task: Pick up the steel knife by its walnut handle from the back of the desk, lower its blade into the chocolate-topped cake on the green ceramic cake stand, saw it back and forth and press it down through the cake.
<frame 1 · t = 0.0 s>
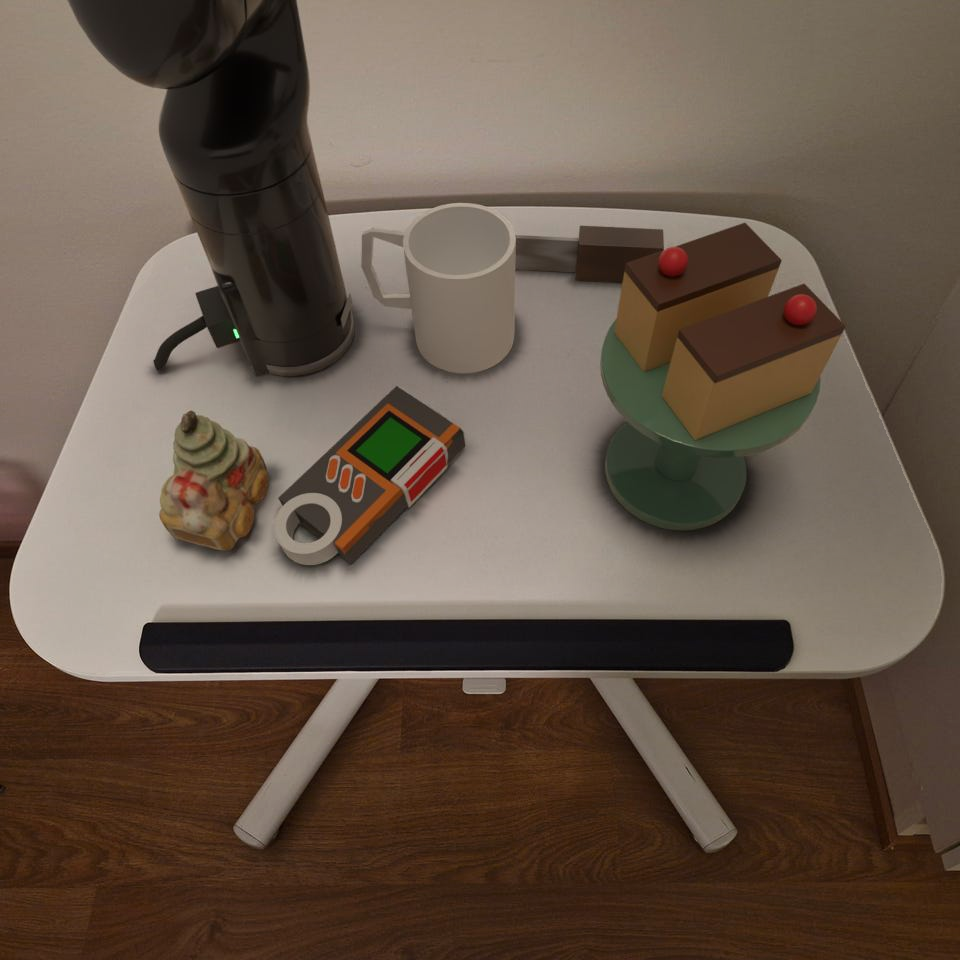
electronic device: (367, 491, 57), on the table
knife: (569, 270, 69), on the table
cup: (443, 334, 66), on the table
ornament: (224, 509, 57), on the table
cake: (709, 362, 47), resting on cake stand
cake stand: (673, 471, 57), on the table
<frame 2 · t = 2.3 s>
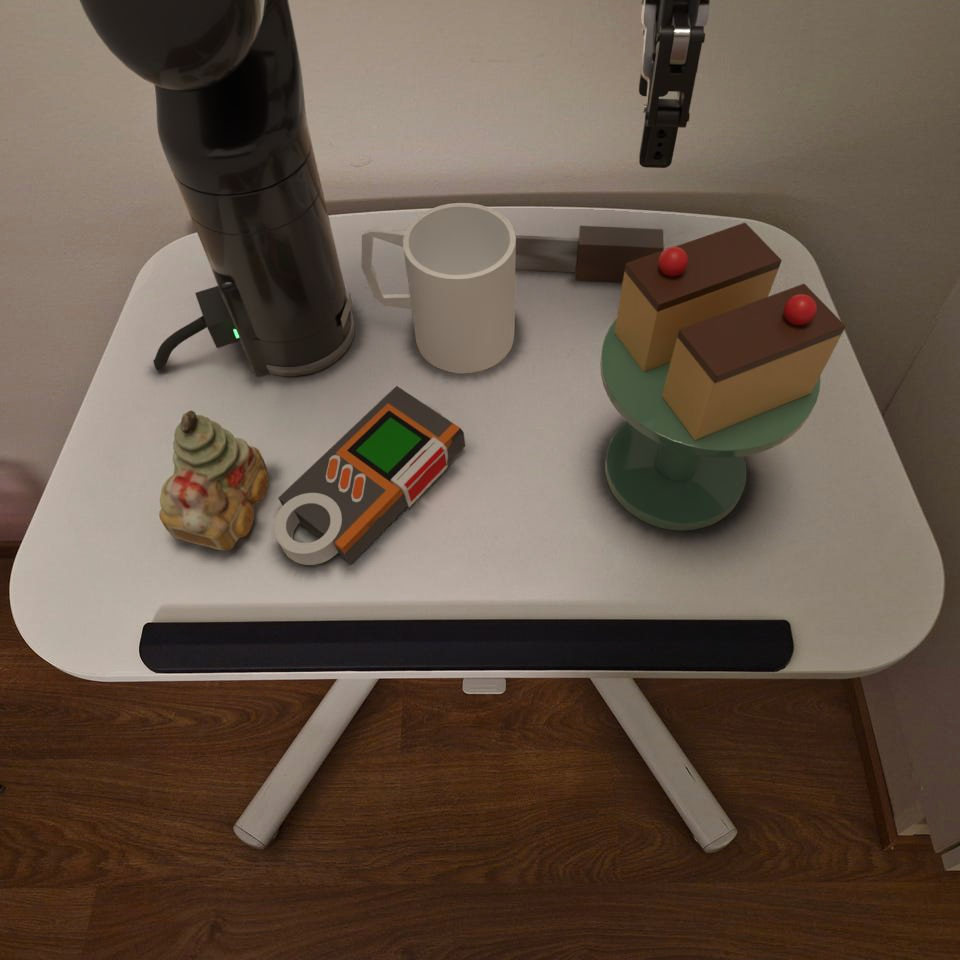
hand: (653, 128, 57), 14 cm above the table, tool pointing down, fingers open, 8 cm apart
nothing on the table moved.
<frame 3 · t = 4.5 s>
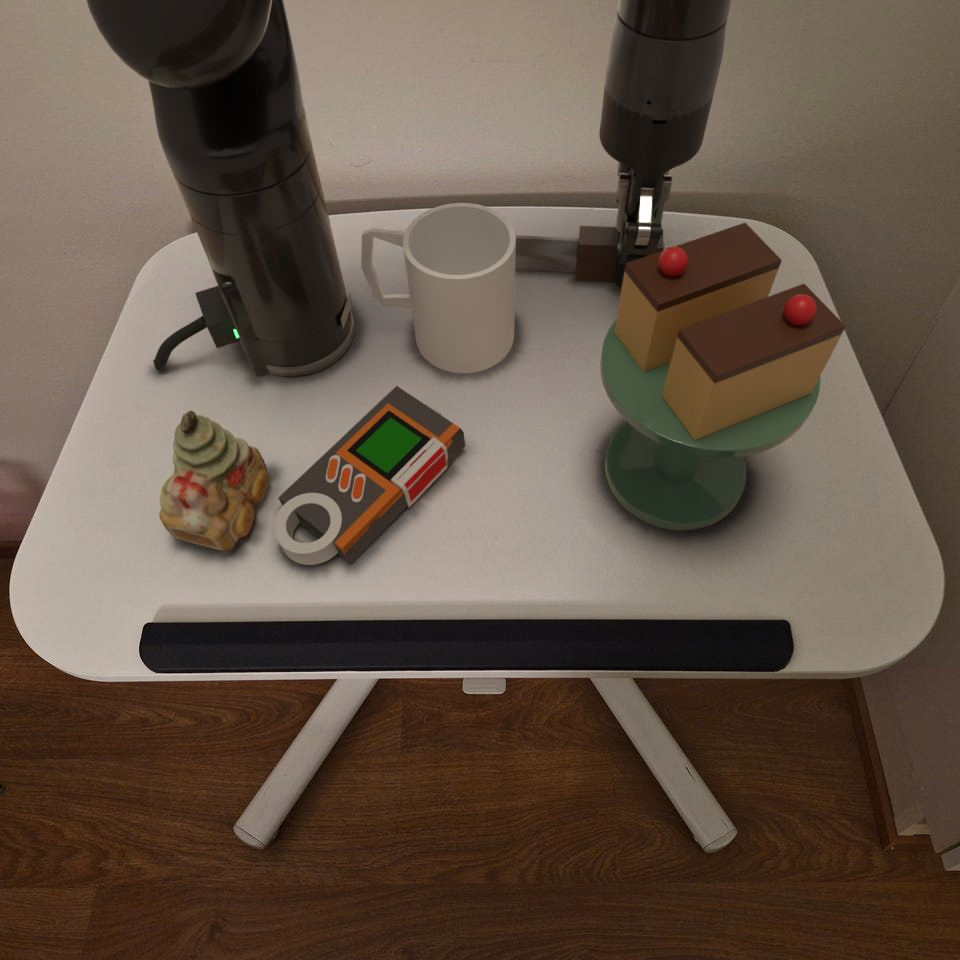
hand: (627, 271, 68), 0 cm above the table, tool pointing down, fingers closed on knife, 2 cm apart
knife: (569, 270, 69), on the table, touching gripper
everything else where it was.
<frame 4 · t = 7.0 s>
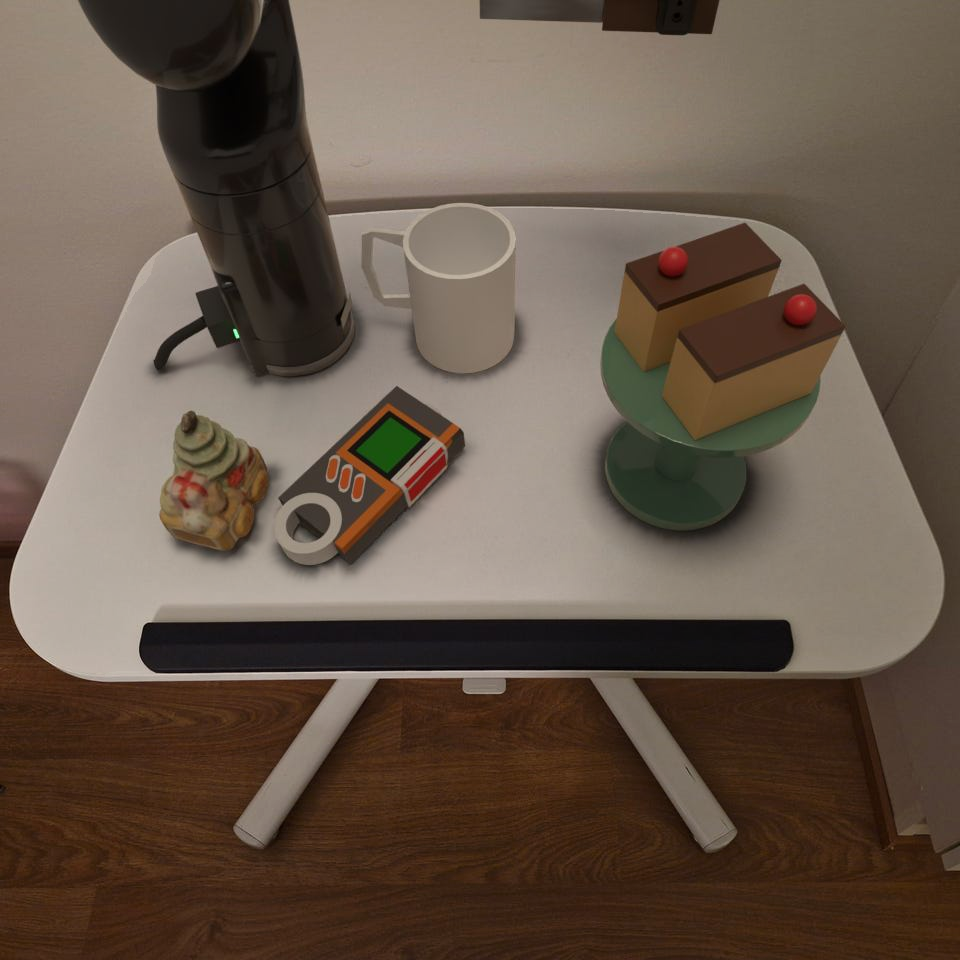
hand: (671, 18, 50), 22 cm above the table, tool pointing down, fingers closed on knife, 2 cm apart
knife: (594, 21, 51), point 21 cm above the table, touching gripper
everything else where it was.
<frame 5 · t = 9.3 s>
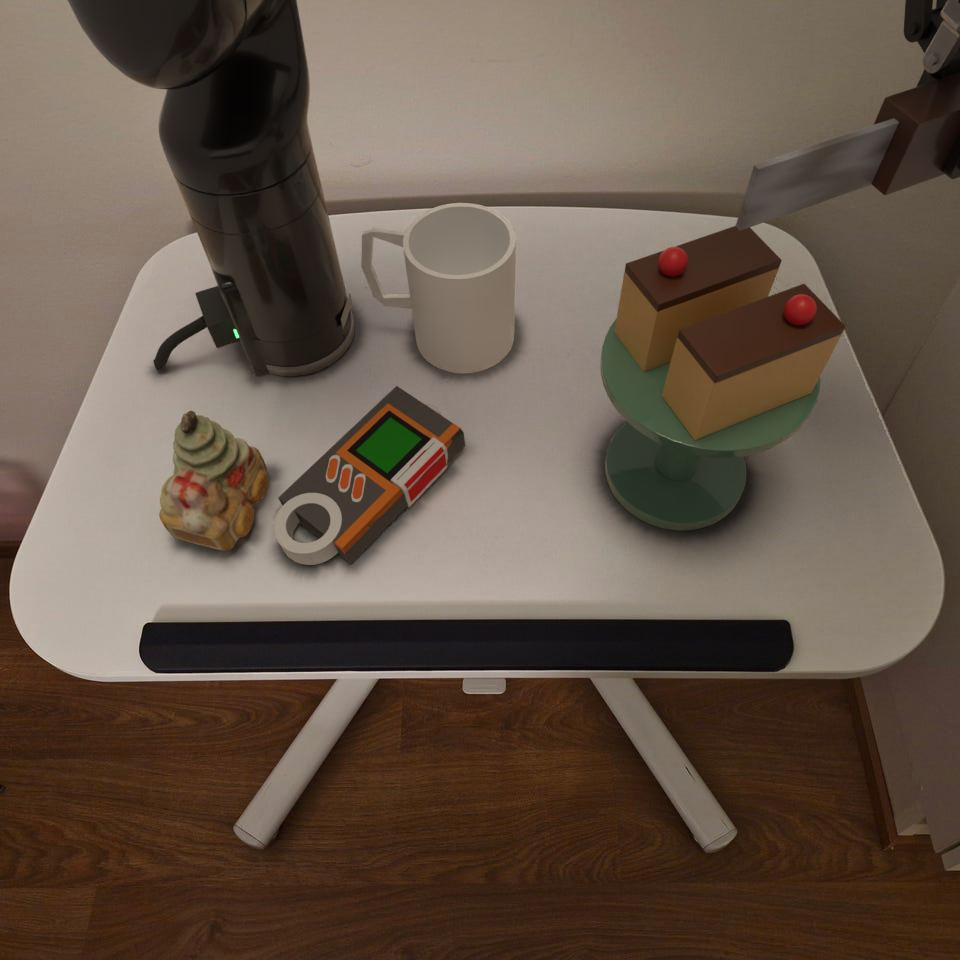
hand: (939, 154, 41), 22 cm above the table, tool pointing down, fingers closed on knife, 2 cm apart
knife: (860, 185, 40), point 22 cm above the table, touching gripper
everything else where it was.
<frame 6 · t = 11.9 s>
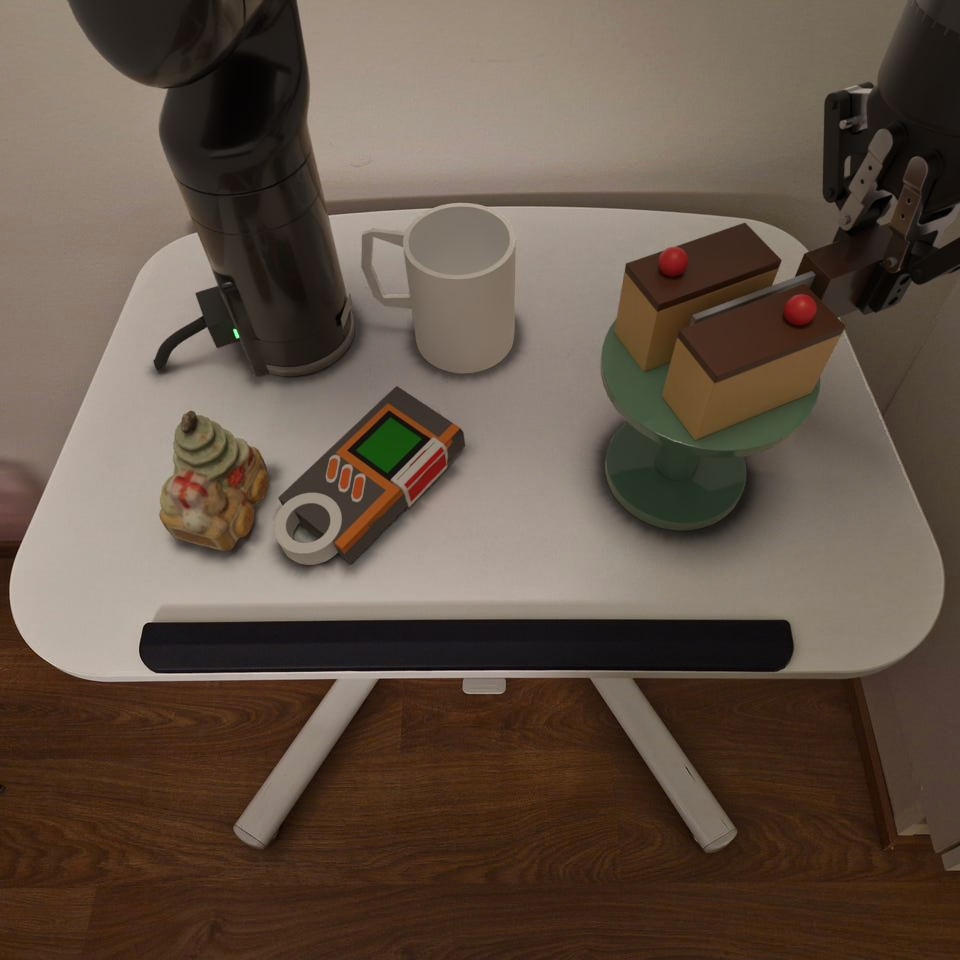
hand: (856, 290, 48), 14 cm above the table, tool pointing down, fingers closed on knife, 2 cm apart
knife: (788, 319, 47), point 13 cm above the table, touching gripper
everything else where it was.
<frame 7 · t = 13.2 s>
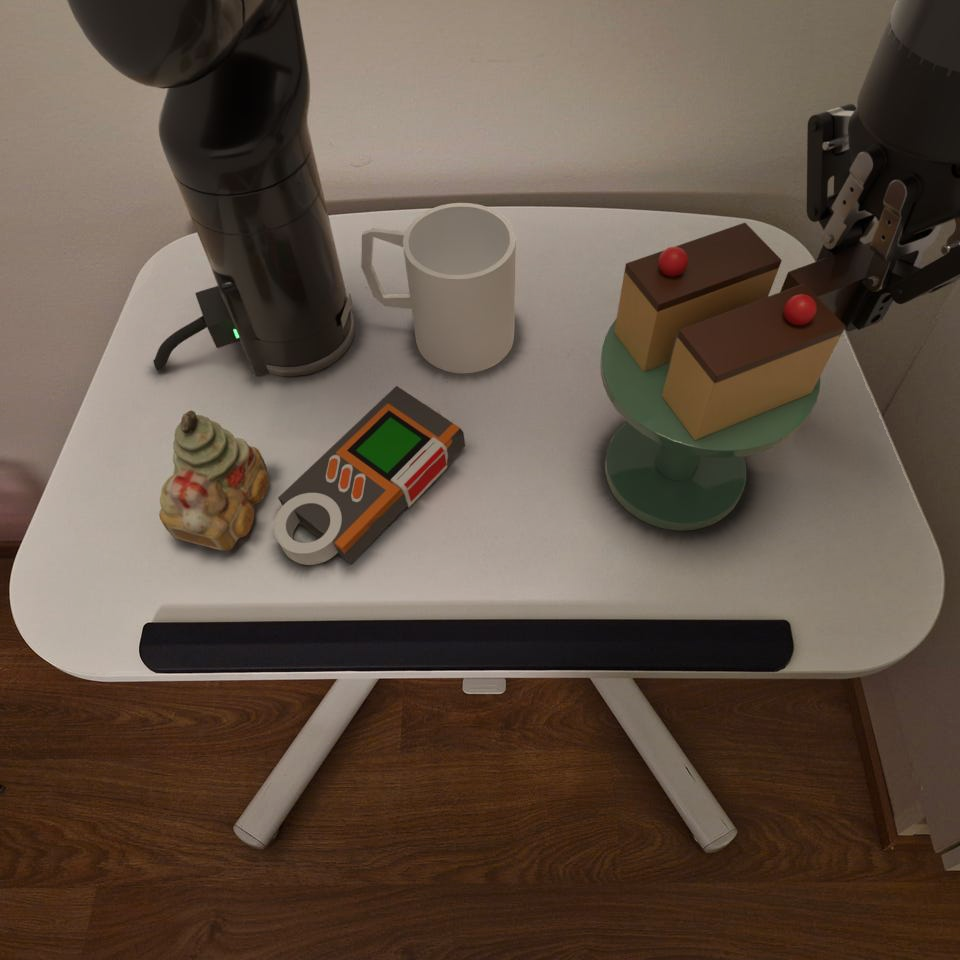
hand: (840, 307, 49), 12 cm above the table, tool pointing down, fingers closed on knife, 2 cm apart
knife: (772, 335, 48), point 12 cm above the table, touching gripper
everything else where it was.
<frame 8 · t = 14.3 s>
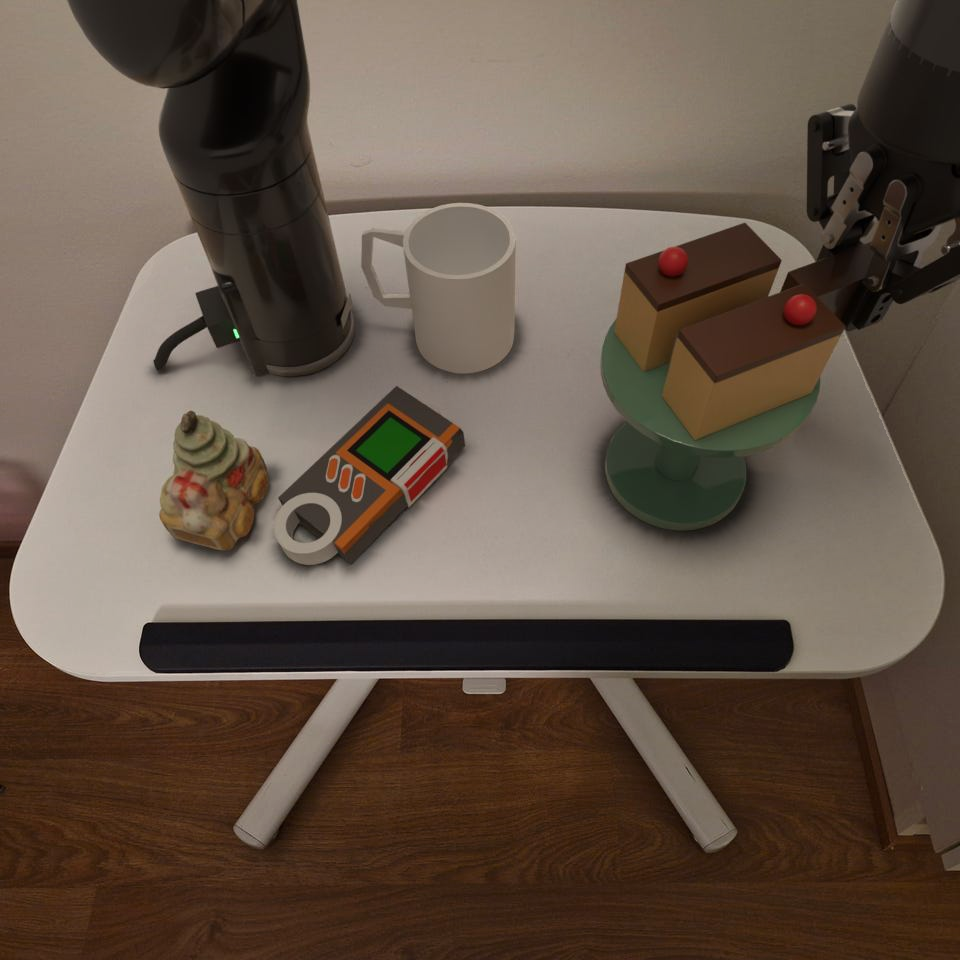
hand: (840, 307, 49), 12 cm above the table, tool pointing down, fingers closed on knife, 2 cm apart
knife: (772, 335, 48), point 12 cm above the table, touching gripper
everything else where it was.
at the end: knife 0.2 cm from the target spot on the cake, point 0.1 cm above the cake's base; knife tilted 0°; the gripper is holding knife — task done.
